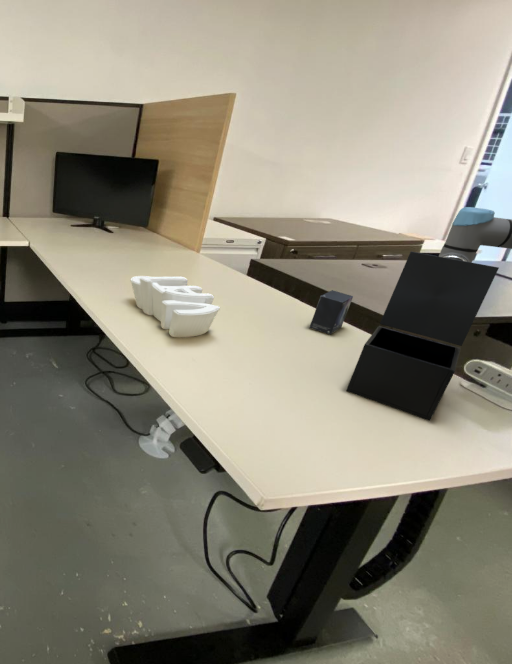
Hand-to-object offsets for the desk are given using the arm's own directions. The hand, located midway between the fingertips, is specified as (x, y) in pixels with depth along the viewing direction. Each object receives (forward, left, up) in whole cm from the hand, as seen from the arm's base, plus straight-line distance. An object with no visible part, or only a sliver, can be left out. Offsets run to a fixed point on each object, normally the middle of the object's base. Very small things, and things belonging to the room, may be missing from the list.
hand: (440, 286), depth 109 cm
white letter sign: (+60, -5, -22) cm, 64 cm away
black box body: (+7, +16, -22) cm, 28 cm away
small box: (+14, -22, -22) cm, 34 cm away
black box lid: (+3, +7, -1) cm, 8 cm away
